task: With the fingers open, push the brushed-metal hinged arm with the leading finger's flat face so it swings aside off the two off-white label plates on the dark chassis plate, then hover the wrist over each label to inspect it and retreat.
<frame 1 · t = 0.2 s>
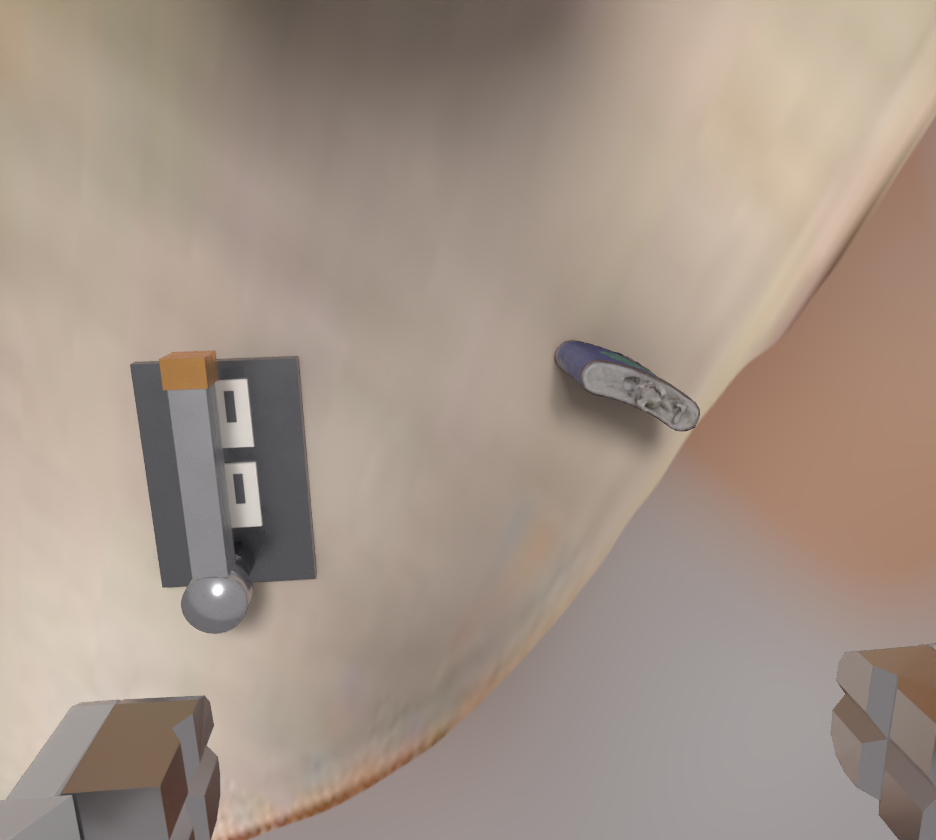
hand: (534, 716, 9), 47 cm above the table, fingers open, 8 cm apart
dark grey cylinder: (236, 560, 58), resting on chassis plate
label plate 2: (229, 495, 56), resting on chassis plate
chassis plate: (230, 472, 57), on the table
label plate 1: (220, 413, 55), resting on chassis plate
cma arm: (205, 496, 50), point 7 cm above the table, hinge at 0.0°
flask: (607, 369, 57), on the table
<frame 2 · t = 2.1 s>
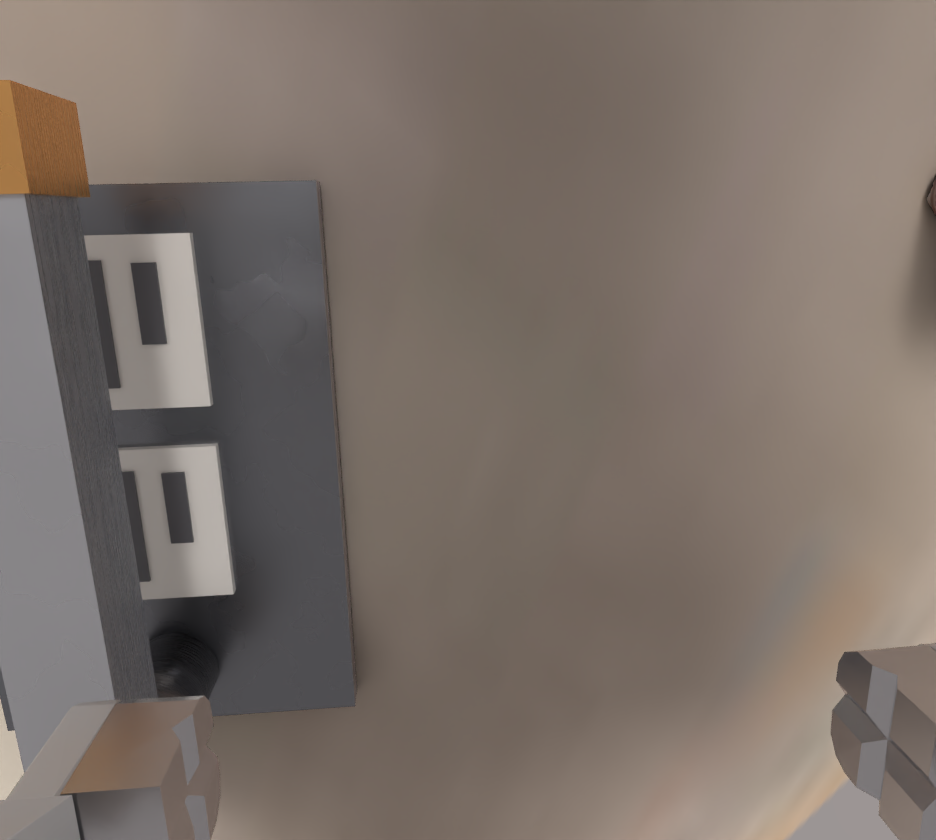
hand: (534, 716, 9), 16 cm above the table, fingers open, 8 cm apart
dark grey cylinder: (177, 669, 25), resting on chassis plate
label plate 2: (155, 522, 24), resting on chassis plate
chassis plate: (158, 468, 24), on the table
label plate 1: (125, 323, 22), resting on chassis plate
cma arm: (58, 540, 17), point 7 cm above the table, hinge at 0.0°
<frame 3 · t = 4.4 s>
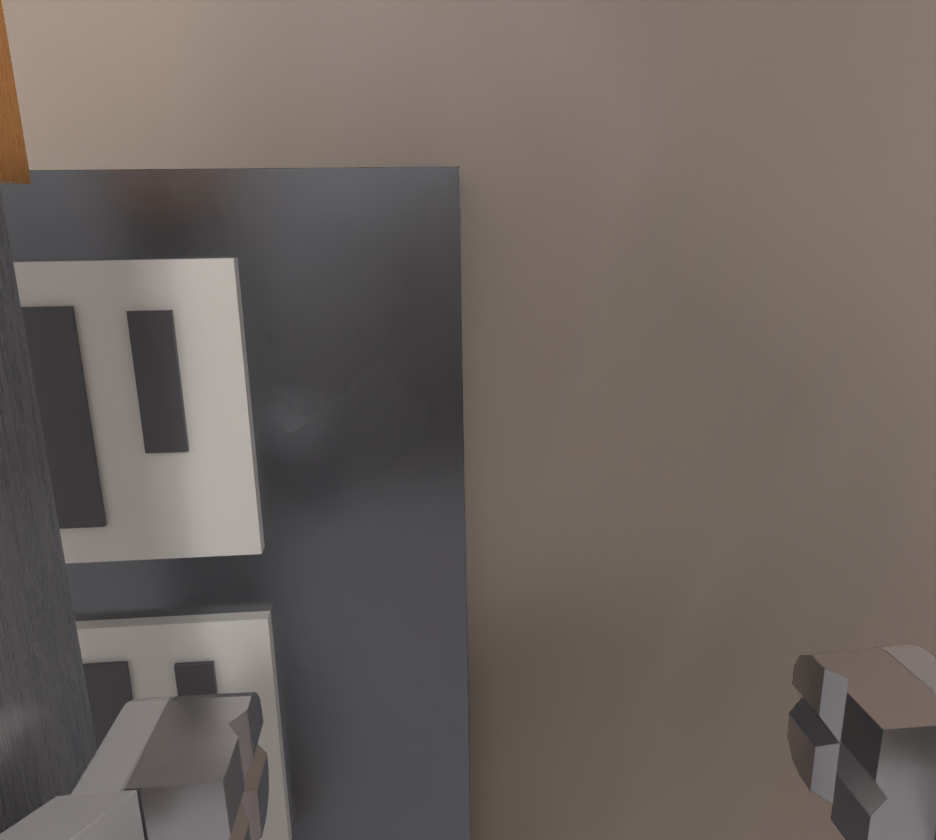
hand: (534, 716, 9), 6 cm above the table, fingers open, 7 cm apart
label plate 2: (162, 736, 14), resting on chassis plate
chassis plate: (169, 640, 15), on the table
label plate 1: (116, 414, 13), resting on chassis plate
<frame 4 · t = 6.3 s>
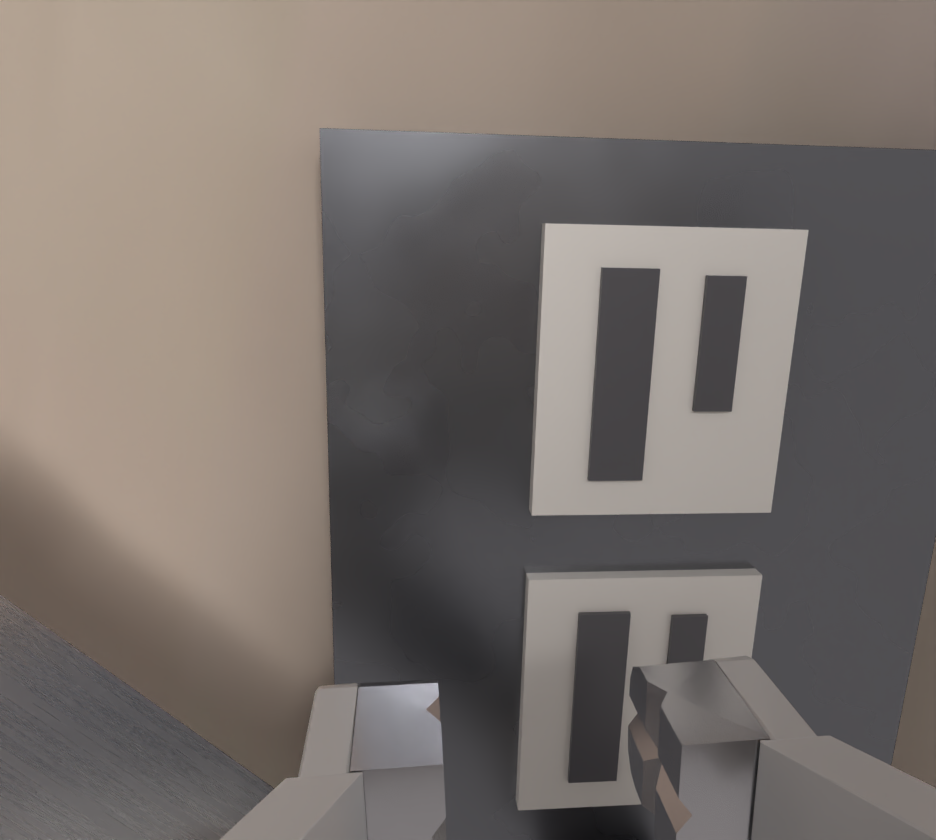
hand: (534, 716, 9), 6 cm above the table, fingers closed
label plate 2: (632, 687, 15), resting on chassis plate
chassis plate: (623, 597, 15), on the table
label plate 1: (659, 374, 13), resting on chassis plate
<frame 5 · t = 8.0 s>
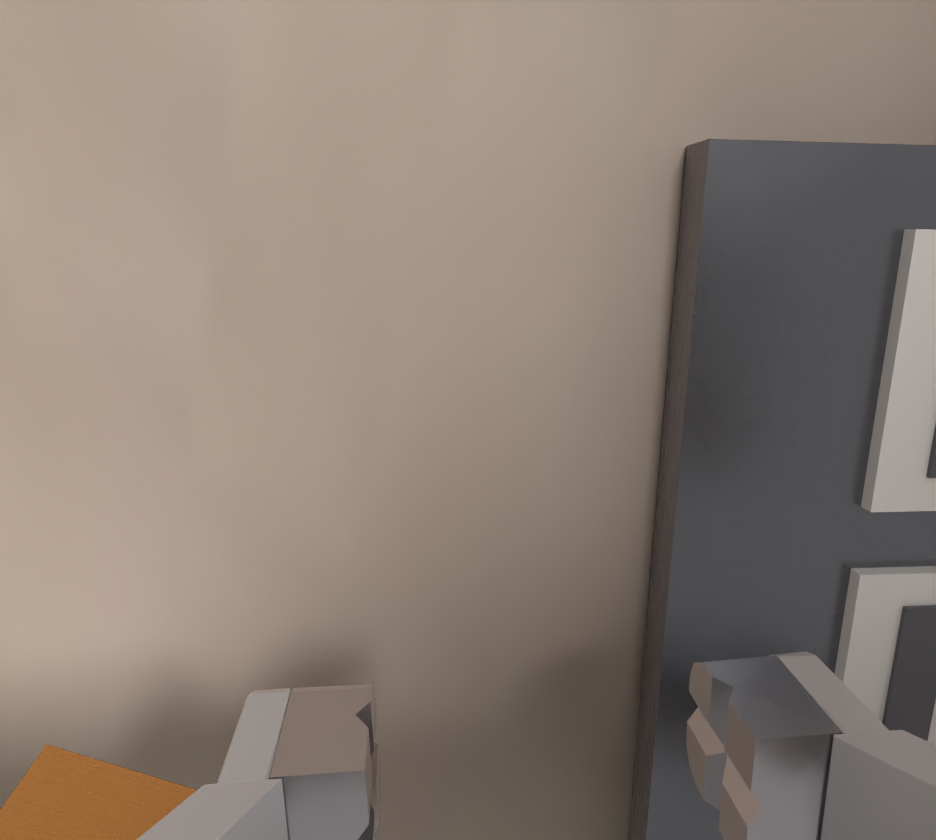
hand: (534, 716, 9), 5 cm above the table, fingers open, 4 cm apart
chassis plate: (916, 591, 16), on the table
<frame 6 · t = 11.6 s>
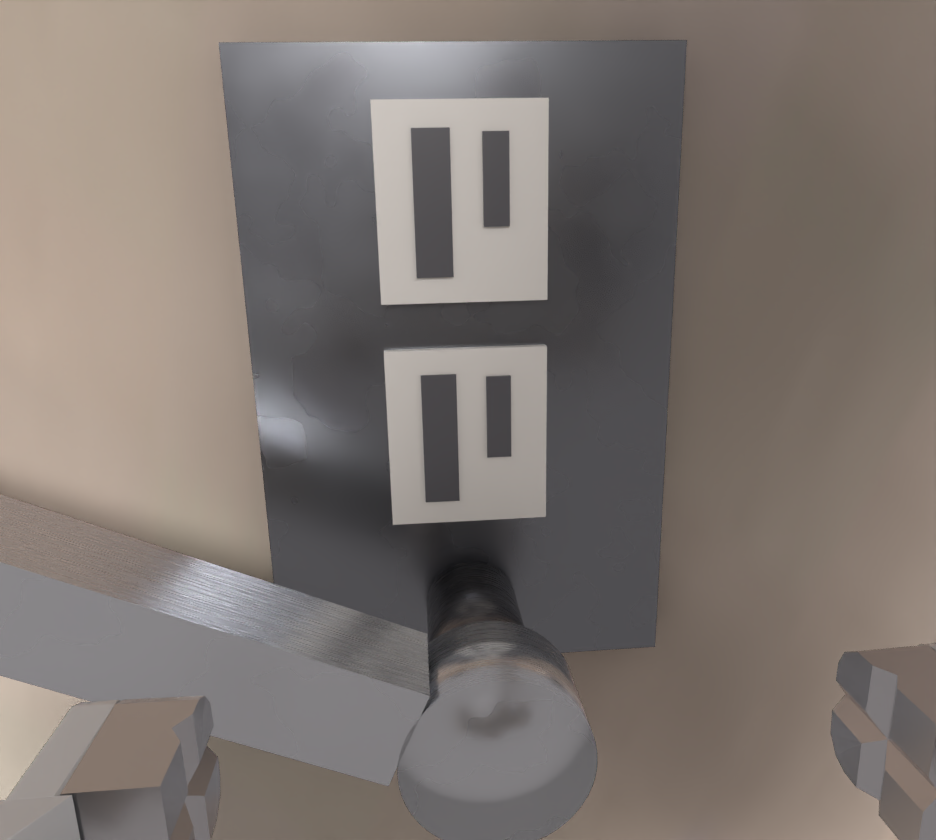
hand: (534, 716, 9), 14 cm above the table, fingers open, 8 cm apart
dark grey cylinder: (471, 602, 23), resting on chassis plate
label plate 2: (467, 434, 21), resting on chassis plate
chassis plate: (463, 377, 22), on the table
label plate 1: (461, 204, 20), resting on chassis plate
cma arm: (169, 632, 16), point 7 cm above the table, hinge at 66.0°
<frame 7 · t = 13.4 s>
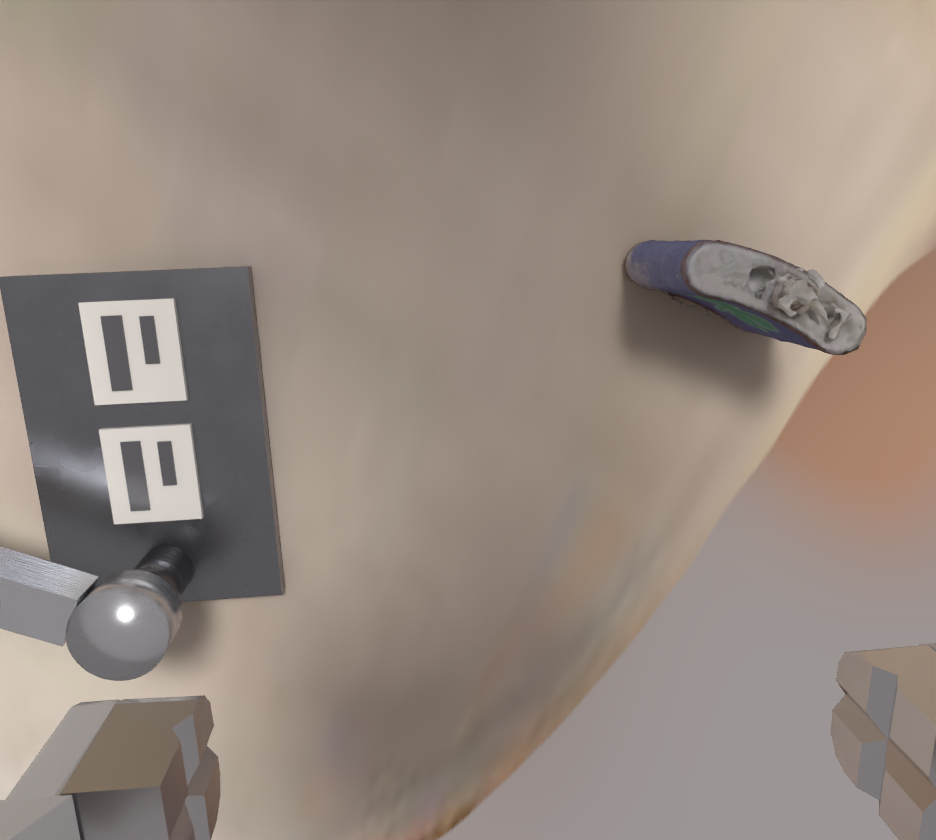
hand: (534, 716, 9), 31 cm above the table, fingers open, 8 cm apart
dark grey cylinder: (167, 569, 40), resting on chassis plate
label plate 2: (153, 473, 38), resting on chassis plate
chassis plate: (155, 441, 39), on the table
label plate 1: (135, 351, 37), resting on chassis plate
flask: (699, 285, 40), on the table
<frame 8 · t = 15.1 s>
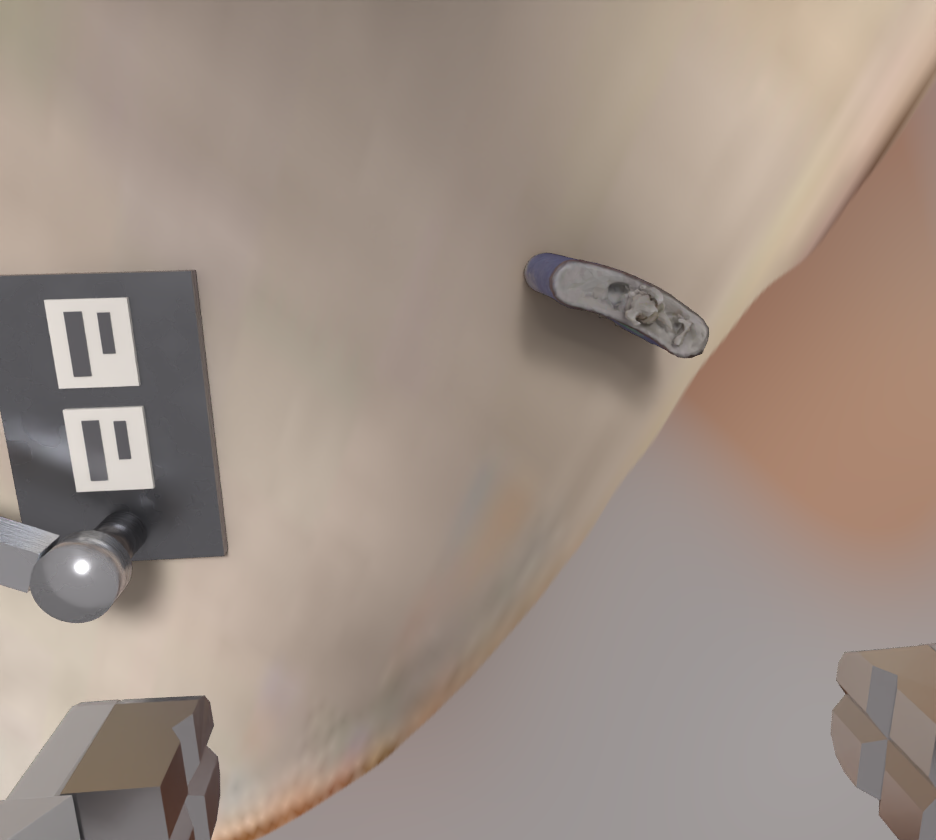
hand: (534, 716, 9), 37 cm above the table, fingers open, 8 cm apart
dark grey cylinder: (123, 532, 46), resting on chassis plate
label plate 2: (110, 448, 44), resting on chassis plate
chassis plate: (113, 420, 45), on the table
label plate 1: (94, 342, 43), resting on chassis plate
flask: (591, 292, 46), on the table
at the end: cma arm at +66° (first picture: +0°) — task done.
